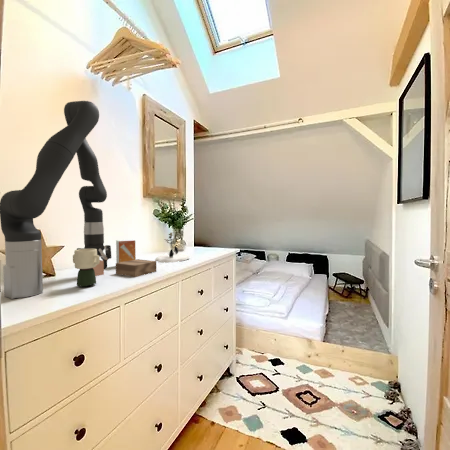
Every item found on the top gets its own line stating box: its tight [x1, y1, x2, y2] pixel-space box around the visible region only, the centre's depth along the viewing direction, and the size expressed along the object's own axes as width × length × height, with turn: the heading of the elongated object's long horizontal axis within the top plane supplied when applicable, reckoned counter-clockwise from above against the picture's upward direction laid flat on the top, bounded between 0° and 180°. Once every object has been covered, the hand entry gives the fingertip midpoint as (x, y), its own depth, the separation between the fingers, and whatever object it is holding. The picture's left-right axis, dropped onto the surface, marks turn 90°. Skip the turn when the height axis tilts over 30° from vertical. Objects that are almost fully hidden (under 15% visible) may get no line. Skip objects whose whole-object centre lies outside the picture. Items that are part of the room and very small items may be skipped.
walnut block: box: [115, 258, 157, 278], centre depth 115 cm, size 12×12×5 cm
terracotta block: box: [93, 259, 105, 277], centre depth 112 cm, size 5×5×6 cm
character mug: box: [72, 249, 101, 288], centre depth 93 cm, size 11×7×13 cm, turn 77°
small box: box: [115, 239, 136, 263], centre depth 132 cm, size 8×6×13 cm
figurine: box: [154, 232, 190, 263], centre depth 150 cm, size 20×18×16 cm
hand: (94, 270), depth 112 cm, fingers open, 8 cm apart
